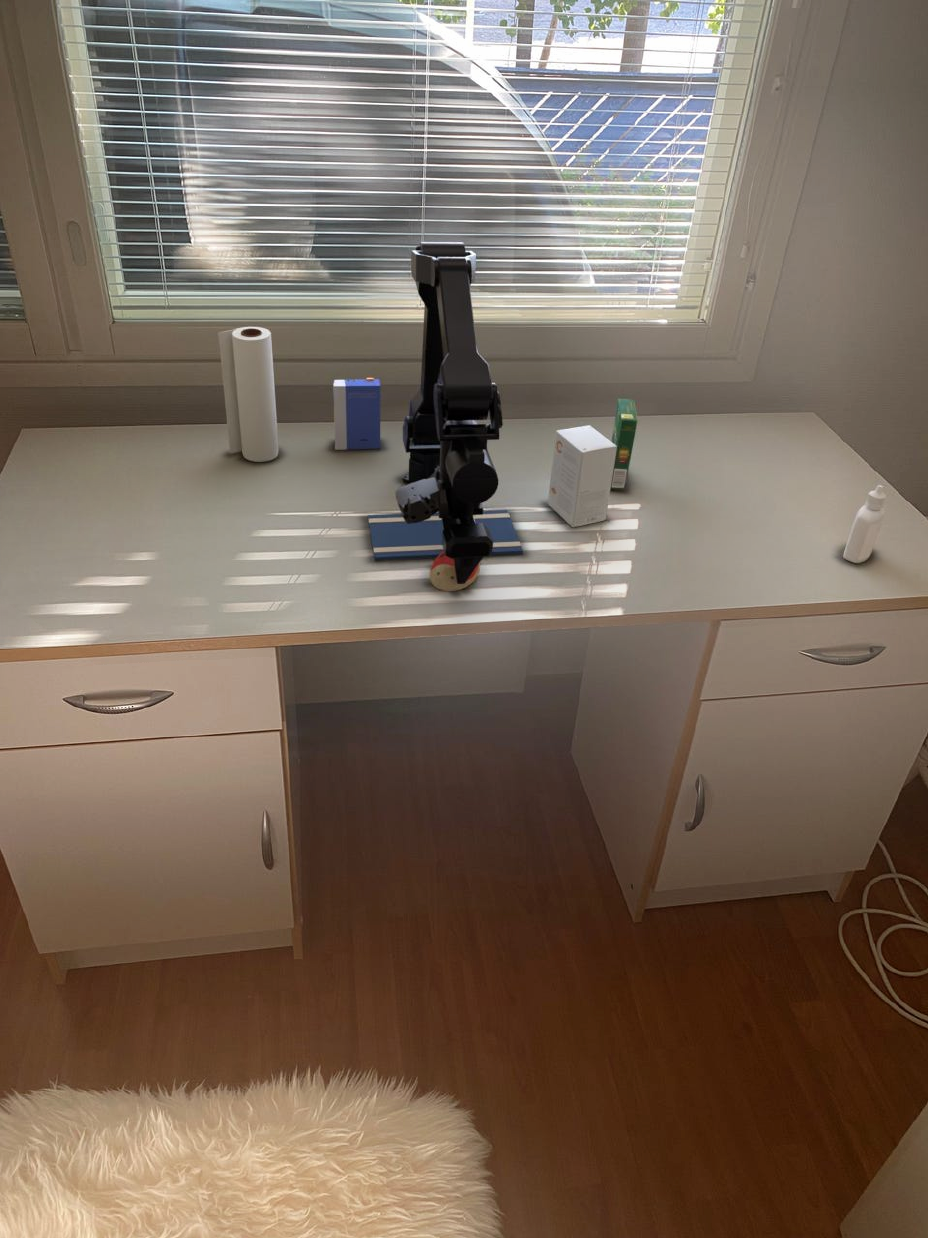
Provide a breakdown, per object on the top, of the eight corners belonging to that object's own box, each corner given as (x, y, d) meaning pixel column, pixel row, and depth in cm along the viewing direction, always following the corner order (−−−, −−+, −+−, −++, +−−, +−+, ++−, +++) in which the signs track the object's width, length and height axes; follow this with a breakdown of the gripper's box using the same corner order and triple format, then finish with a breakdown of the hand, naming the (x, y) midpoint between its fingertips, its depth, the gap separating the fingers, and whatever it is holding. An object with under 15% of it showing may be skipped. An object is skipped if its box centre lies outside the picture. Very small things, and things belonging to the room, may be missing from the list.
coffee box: (626, 492, 161) (638, 419, 154) (608, 491, 161) (620, 417, 154) (623, 469, 168) (635, 398, 160) (606, 468, 168) (617, 397, 160)
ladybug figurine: (421, 588, 135) (421, 567, 133) (443, 553, 143) (444, 532, 141) (466, 599, 134) (468, 577, 132) (487, 562, 142) (488, 542, 140)
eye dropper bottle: (880, 560, 148) (906, 491, 141) (850, 565, 146) (874, 495, 139) (862, 545, 151) (886, 477, 144) (832, 550, 150) (855, 481, 143)
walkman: (378, 441, 172) (378, 376, 164) (380, 448, 169) (380, 383, 162) (334, 442, 170) (332, 377, 163) (334, 449, 168) (333, 384, 161)
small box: (606, 521, 153) (618, 445, 146) (571, 528, 151) (582, 452, 143) (579, 497, 159) (590, 423, 151) (546, 504, 157) (554, 429, 149)
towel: (374, 560, 141) (374, 556, 140) (367, 518, 150) (367, 514, 150) (522, 554, 144) (523, 550, 144) (506, 513, 154) (507, 509, 153)
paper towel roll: (286, 453, 166) (278, 330, 153) (262, 466, 162) (252, 341, 149) (254, 441, 169) (244, 320, 156) (230, 454, 165) (217, 330, 152)
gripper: (392, 436, 134) (391, 533, 143) (409, 503, 119) (406, 606, 129) (472, 434, 136) (466, 530, 145) (497, 500, 121) (489, 602, 130)
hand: (455, 565), depth 137 cm, fingers open, 9 cm apart
